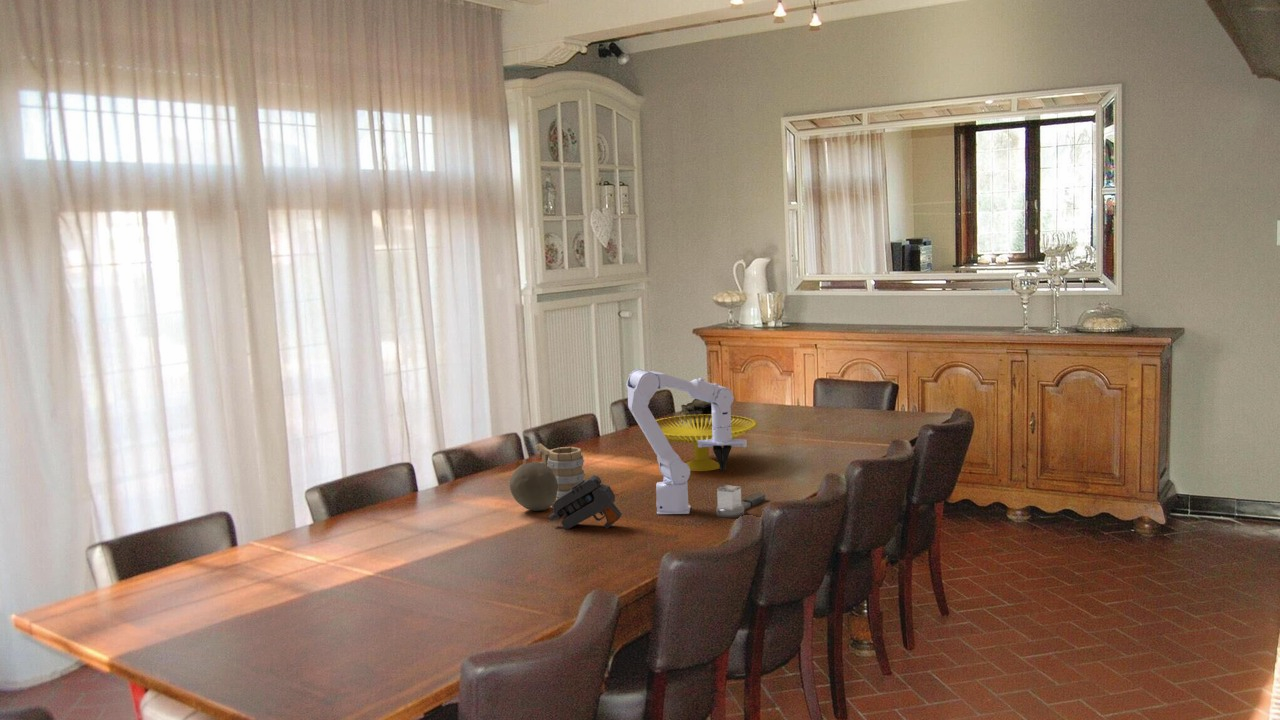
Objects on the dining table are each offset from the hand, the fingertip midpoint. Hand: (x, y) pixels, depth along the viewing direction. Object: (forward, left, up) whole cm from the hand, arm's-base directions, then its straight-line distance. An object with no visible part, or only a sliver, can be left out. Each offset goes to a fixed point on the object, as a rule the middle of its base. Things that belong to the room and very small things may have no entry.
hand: (723, 470), depth 311 cm
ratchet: (+6, -5, -10) cm, 13 cm away
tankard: (-54, +19, -11) cm, 58 cm away
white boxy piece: (+2, -11, -8) cm, 14 cm away
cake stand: (-9, +50, -11) cm, 52 cm away
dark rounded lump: (-12, +113, -11) cm, 114 cm away
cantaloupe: (-57, -5, -11) cm, 58 cm away
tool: (-39, -22, -11) cm, 46 cm away
